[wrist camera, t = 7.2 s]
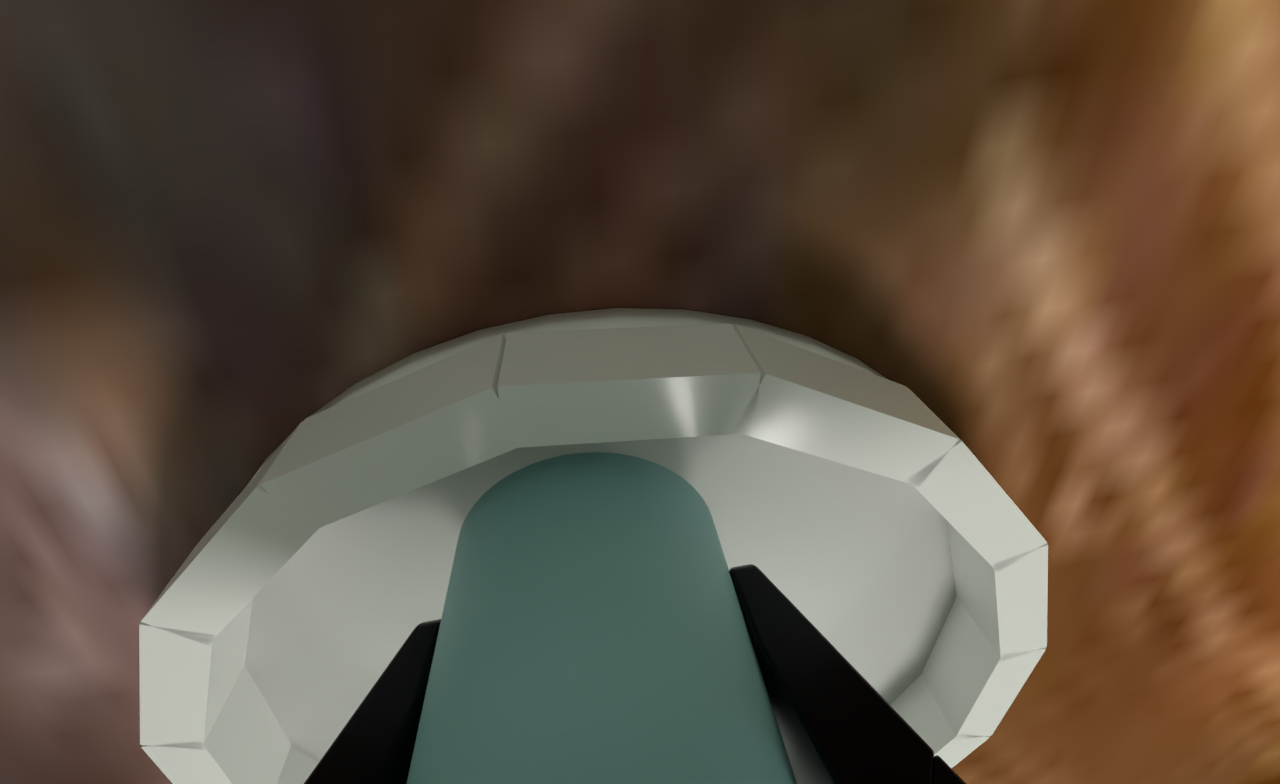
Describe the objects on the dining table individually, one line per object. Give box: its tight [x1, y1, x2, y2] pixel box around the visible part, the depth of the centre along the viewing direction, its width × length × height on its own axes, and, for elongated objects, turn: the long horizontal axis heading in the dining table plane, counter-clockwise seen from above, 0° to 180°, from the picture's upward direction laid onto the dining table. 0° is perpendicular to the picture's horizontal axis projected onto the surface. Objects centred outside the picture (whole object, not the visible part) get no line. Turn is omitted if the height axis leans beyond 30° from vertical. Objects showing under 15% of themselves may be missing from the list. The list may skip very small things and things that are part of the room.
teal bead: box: [407, 452, 797, 784], centre depth 8 cm, size 4×4×5 cm
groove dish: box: [139, 308, 1048, 784], centre depth 13 cm, size 18×18×2 cm
